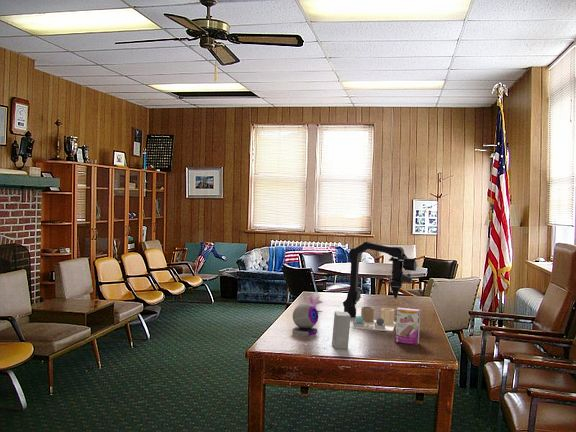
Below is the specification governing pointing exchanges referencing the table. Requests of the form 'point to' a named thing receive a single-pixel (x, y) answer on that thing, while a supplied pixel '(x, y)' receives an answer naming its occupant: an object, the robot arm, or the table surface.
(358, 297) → the robot arm
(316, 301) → the lily
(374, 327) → the board
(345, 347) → the skincare box
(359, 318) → the teal ball
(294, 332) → the eyeball
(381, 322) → the charcoal ball
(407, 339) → the candy bar box
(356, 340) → the table surface
